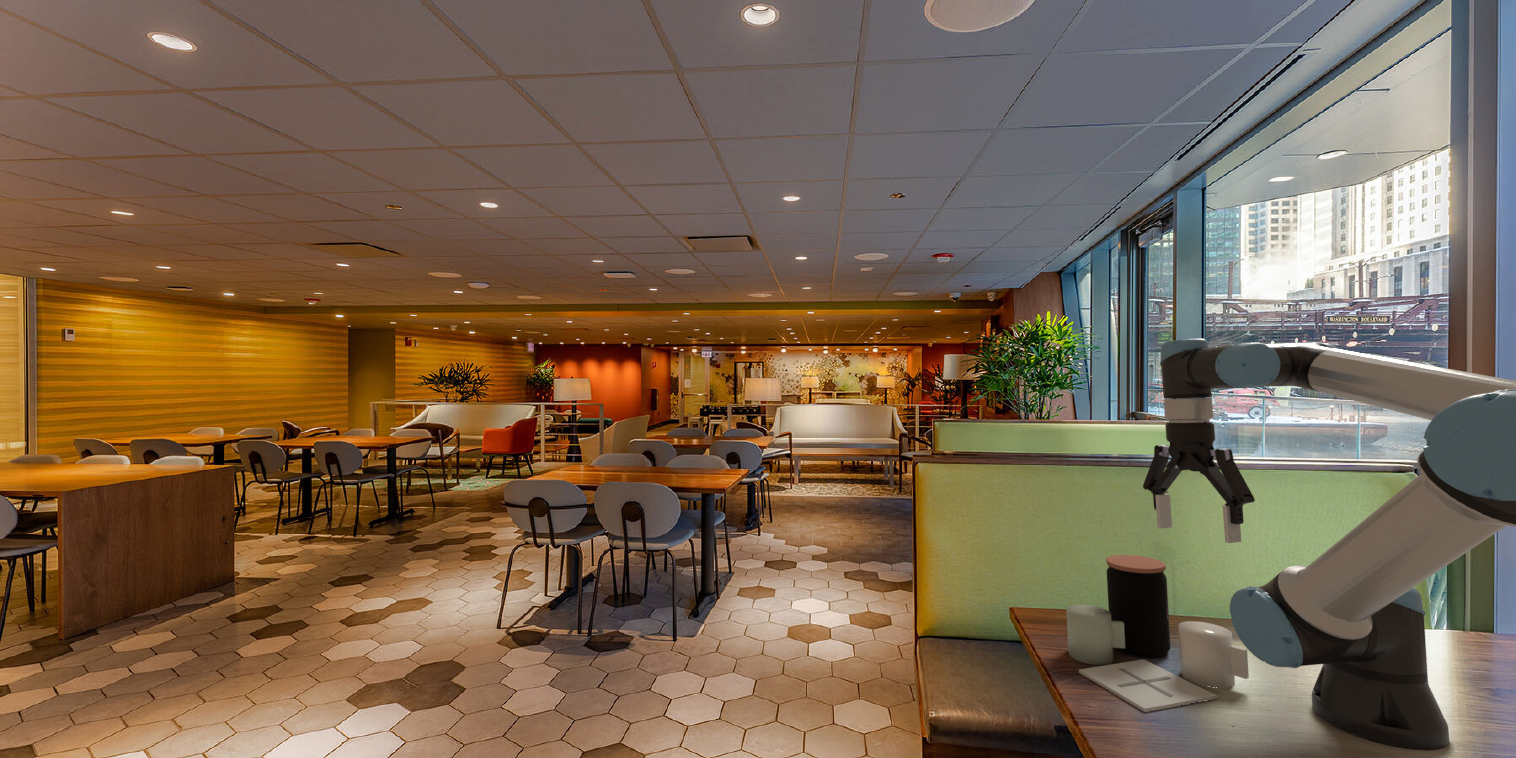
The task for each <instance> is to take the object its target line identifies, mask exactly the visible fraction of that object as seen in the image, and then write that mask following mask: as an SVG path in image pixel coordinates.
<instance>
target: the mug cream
mask: <svg viewBox="0 0 1516 758" xmlns="http://www.w3.org/2000/svg"><path fill="white" fill-rule="evenodd" d="M1178 639H1179V641H1178V643H1179V657H1180V673H1181V674H1182V675H1181V676H1182V678H1183V679H1185V678H1186V679H1185V680H1187V679H1188V680H1189V681H1188V680H1187V681H1188V682H1190V681H1191V682H1190V683H1193V682H1194V683H1193V684H1195V683H1196V684H1195V685H1198V684H1200V685H1199V686H1201V685H1204V686H1203V687H1205V686H1210V687H1215V688H1214V689H1217V688H1227V689H1231V688H1230V687H1232V686H1234V687H1235V685H1236V681H1235V679H1236V678H1235V677H1238V678H1241V679H1245V680H1248V679H1249V676H1250V675H1249V674H1250V673H1249V659H1248V658H1249V657H1248V649H1247V648H1246V647H1245V648H1244V647H1241V646H1237V645H1234V644H1233V633H1232V632H1231V630H1229V629H1227V628H1225V627H1224V626H1221V625H1217V624H1214V623H1210V622H1205V621H1204V622H1203V621H1196V620H1195V621H1191V620H1190V621H1189V620H1188V621H1182V622H1180V623H1178ZM1234 684H1235V685H1234ZM1210 687H1209V688H1210ZM1216 687H1217V688H1216ZM1232 688H1233V687H1232Z"/></svg>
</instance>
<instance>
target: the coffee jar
mask: <svg viewBox="0 0 1516 758" xmlns="http://www.w3.org/2000/svg"><path fill="white" fill-rule="evenodd" d="M1105 560H1106V562H1105V563H1106V565H1107V566H1108V568H1107V569H1106V583H1107V585H1106V587H1107V602H1108V603H1107V604H1108V605H1107V606H1108V607H1107V608H1108V611H1109V612H1110V613H1111V621H1123V623H1124V633H1125V648H1116V650H1118V651H1120V652H1122V653H1124V654H1127V655H1130V656H1133V657H1137V658H1145V659H1159V658H1163V657H1166V655H1167V654H1168V653H1169V652H1170V650H1171V635H1170V634H1171V633H1170V617H1169V616H1170V615H1169V612H1170V611H1169V598H1168V597H1169V596H1168V595H1169V594H1168V580H1167V576H1166V574H1165V573H1164V572H1165V571H1166V569H1167V565H1166V563H1165V562H1163V561H1162V560H1160V559H1156V558H1153V557H1148V556H1143V555H1142V556H1141V555H1133V554H1117V555H1115V554H1114V555H1110V556H1109V555H1108V557H1106V559H1105Z"/></svg>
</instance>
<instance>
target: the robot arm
mask: <svg viewBox="0 0 1516 758" xmlns="http://www.w3.org/2000/svg"><path fill="white" fill-rule="evenodd" d="M1159 365H1160V367H1161V370H1160V371H1161V381H1162V393H1163V410H1164V419H1165V420H1166V421H1168V422H1166V424H1165V438H1166V441H1167V442H1169V445H1168V444H1156V445H1154V447H1153V448H1154V449H1153V457H1152V461H1151V463H1150V465H1149V468H1148V471H1147V474H1146V476H1145V479H1144V481H1143V484H1142V488H1143V489H1144V490H1145V491H1146V490H1147V491H1150V492H1151V494H1152V499H1153V509H1154V510H1155V511H1156V522H1157V523H1156V524H1157V528H1158V529H1169V528H1173V522H1172V521H1173V520H1172V510H1171V509H1172V507H1171V504H1172V503H1171V494H1170V493H1169V491H1168V490H1169V488H1170V487H1171V486H1172V485H1173V483H1174V482H1175V480H1176V479H1177V477H1178V476H1180V474H1181V472H1183V471H1191V472H1198V473H1200V474H1201V475H1203V476H1205V478H1206V479H1207V480H1208V482H1209V483H1210V484H1211V486H1212V487H1213V488H1214V489H1215V491H1216V492H1217V493H1218V494H1219V496H1220V497H1221V498H1222V499H1223V501H1224V502H1225V504H1222V517H1223V518H1222V519H1223V530H1224V532H1223V533H1224V542H1225V543H1228V544H1233V543H1242V531H1241V525H1242V524H1244V521H1245V520H1244V508H1243V507H1244V505H1246V504H1251V503H1255V501H1256V500H1255V497H1254V495H1253V493H1252V491H1251V490H1250V487H1249V486H1248V483H1247V482H1246V480H1245V478H1244V477H1243V475H1242V473H1241V471H1240V469H1239V468H1238V466H1237V464H1236V462H1235V461H1234V459H1235V458H1234V455H1233V449H1231V448H1229V447H1227V448H1226V447H1225V448H1216V449H1215V448H1214V442H1215V440H1216V431H1215V423H1213V422H1212V421H1210V420H1213V419H1214V407H1213V394H1212V390H1214V389H1254V388H1266V387H1267V388H1269V387H1296V388H1302V389H1305V390H1309V391H1313V392H1318V393H1322V394H1325V395H1326V394H1327V395H1330V396H1334V397H1339V398H1343V399H1346V400H1350V401H1354V402H1359V403H1362V404H1365V405H1369V406H1372V407H1373V406H1374V407H1377V408H1381V409H1386V410H1388V411H1393V412H1397V413H1400V414H1401V413H1402V414H1405V415H1409V416H1414V417H1418V418H1421V419H1424V420H1429V421H1430V422H1429V423H1428V425H1427V427H1426V429H1425V431H1424V434H1423V435H1424V436H1423V439H1424V440H1426V445H1425V446H1423V447H1422V449H1423V451H1422V452H1421V453H1420V454H1419V455H1418V457H1417V460H1416V461H1417V462H1416V463H1417V466H1418V469H1419V472H1420V474H1419V475H1417V476H1416V477H1415V478H1414V479H1412V481H1410V482H1408V484H1407V485H1405V486H1404V487H1403V488H1401V489H1400V490H1399V491H1398V492H1397V493H1396V494H1394V495H1393V496H1392V497H1391V498H1389V499H1388V500H1387V501H1385V503H1383V504H1382V505H1380V507H1378V508H1377V509H1376V510H1374V511H1373V512H1372V513H1371V514H1369V516H1367V517H1366V518H1365V519H1364V520H1363V521H1362V520H1361V522H1360V523H1359V524H1357V525H1356V526H1355V527H1354V528H1353V529H1352V530H1350V531H1349V532H1348V533H1347V534H1345V535H1344V536H1343V537H1342V538H1340V539H1338V541H1337V542H1335V543H1334V544H1333V545H1332V546H1330V547H1329V548H1328V549H1327V550H1326V551H1324V552H1323V553H1322V554H1321V555H1319V556H1318V557H1317V558H1316V559H1314V561H1312V562H1311V563H1309V565H1307V566H1306V565H1292V566H1288V567H1286V568H1285V569H1283V570H1281V571H1280V572H1279V573H1278V574H1276V575H1275V576H1274V577H1273V578H1272V579H1271V580H1269V581H1268V582H1267V583H1265V584H1264V585H1261V586H1256V587H1255V586H1246V587H1244V588H1240V589H1239V590H1237V591H1235V592H1234V593H1233V595H1232V596H1231V599H1230V602H1229V613H1230V616H1231V623H1232V626H1233V628H1234V630H1235V633H1236V634H1237V636H1238V638H1239V640H1240V641H1241V643H1242V644H1243V645H1244V647H1245V649H1247V651H1249V652H1250V653H1251V654H1252V655H1253V656H1254V657H1255V658H1257V659H1258V660H1260V661H1262V662H1264V663H1265V664H1267V665H1268V666H1272V667H1275V668H1276V667H1277V668H1292V669H1297V668H1300V667H1304V666H1314V665H1316V666H1318V665H1322V666H1321V669H1320V671H1319V674H1318V677H1317V678H1316V681H1315V683H1314V686H1313V689H1312V690H1311V691H1312V692H1311V706H1312V709H1313V712H1315V714H1317V715H1318V716H1319V717H1320V718H1321V719H1322V720H1325V721H1326V722H1327V723H1328V724H1331V725H1333V726H1335V727H1336V728H1338V729H1341V730H1344V731H1346V732H1348V733H1351V734H1352V735H1353V734H1354V735H1356V736H1359V737H1361V738H1363V739H1368V740H1370V741H1375V742H1378V743H1382V744H1385V745H1390V746H1394V747H1400V748H1408V749H1415V750H1437V749H1440V748H1444V747H1446V746H1447V745H1448V744H1449V743H1450V733H1449V731H1450V730H1449V725H1448V723H1447V720H1446V719H1445V717H1444V715H1443V712H1442V711H1441V708H1440V706H1439V703H1438V702H1437V699H1436V697H1435V695H1434V693H1433V691H1432V688H1431V687H1430V685H1429V678H1428V659H1427V658H1428V657H1427V642H1426V631H1425V630H1426V627H1425V616H1426V611H1425V610H1424V606H1423V600H1422V599H1423V598H1422V595H1421V593H1420V592H1419V591H1418V590H1417V589H1416V587H1417V586H1418V585H1420V584H1422V583H1423V582H1424V581H1426V580H1427V579H1429V578H1430V577H1431V576H1433V575H1435V574H1436V573H1438V572H1439V571H1440V570H1442V569H1444V568H1445V567H1447V566H1449V565H1450V564H1451V563H1453V562H1454V561H1456V560H1458V559H1459V558H1461V556H1463V555H1465V554H1466V553H1468V552H1469V551H1471V550H1472V549H1473V548H1475V547H1477V546H1478V545H1480V544H1482V542H1484V541H1486V540H1488V539H1489V538H1490V537H1492V536H1493V535H1495V534H1497V533H1498V532H1499V531H1501V530H1503V529H1504V528H1505V527H1507V526H1509V527H1515V528H1516V380H1513V379H1507V378H1504V377H1503V378H1502V377H1496V376H1491V375H1486V374H1480V373H1473V372H1468V371H1463V370H1457V369H1452V368H1445V367H1439V366H1434V365H1428V364H1423V363H1419V362H1418V363H1417V362H1412V361H1406V360H1402V359H1401V360H1400V359H1396V358H1390V357H1384V356H1379V355H1371V354H1368V353H1366V354H1365V353H1360V352H1356V351H1350V350H1344V349H1340V348H1338V347H1337V346H1336V345H1334V344H1331V343H1327V342H1318V341H1317V342H1316V341H1304V342H1294V343H1292V342H1291V343H1289V342H1288V343H1261V342H1238V343H1234V344H1228V345H1227V344H1226V345H1221V346H1220V345H1219V346H1214V347H1209V342H1208V341H1207V339H1205V338H1186V339H1183V338H1182V339H1177V340H1176V339H1175V340H1168V341H1165V342H1164V343H1162V344H1161V347H1160V362H1159ZM1170 457H1171V459H1170ZM1169 459H1170V460H1169ZM1215 460H1216V461H1215Z"/></svg>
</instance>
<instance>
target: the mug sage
mask: <svg viewBox="0 0 1516 758" xmlns="http://www.w3.org/2000/svg"><path fill="white" fill-rule="evenodd" d="M1065 610H1066V628H1067V645H1068V646H1067V647H1068V649H1067V650H1068V655H1069V657H1070V658H1072V659H1074V660H1076V661H1078V662H1081V663H1084V664H1088V665H1096V666H1105V665H1111V664H1112V663H1113V662H1114V649H1115V648H1116V649H1117V648H1125V633H1124V623H1123V621H1111V613H1110V612H1109V610H1107V609H1106V608H1102V607H1099V606H1095V605H1090V604H1089V605H1088V604H1072V605H1069V606H1067V607H1066V609H1065Z"/></svg>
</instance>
